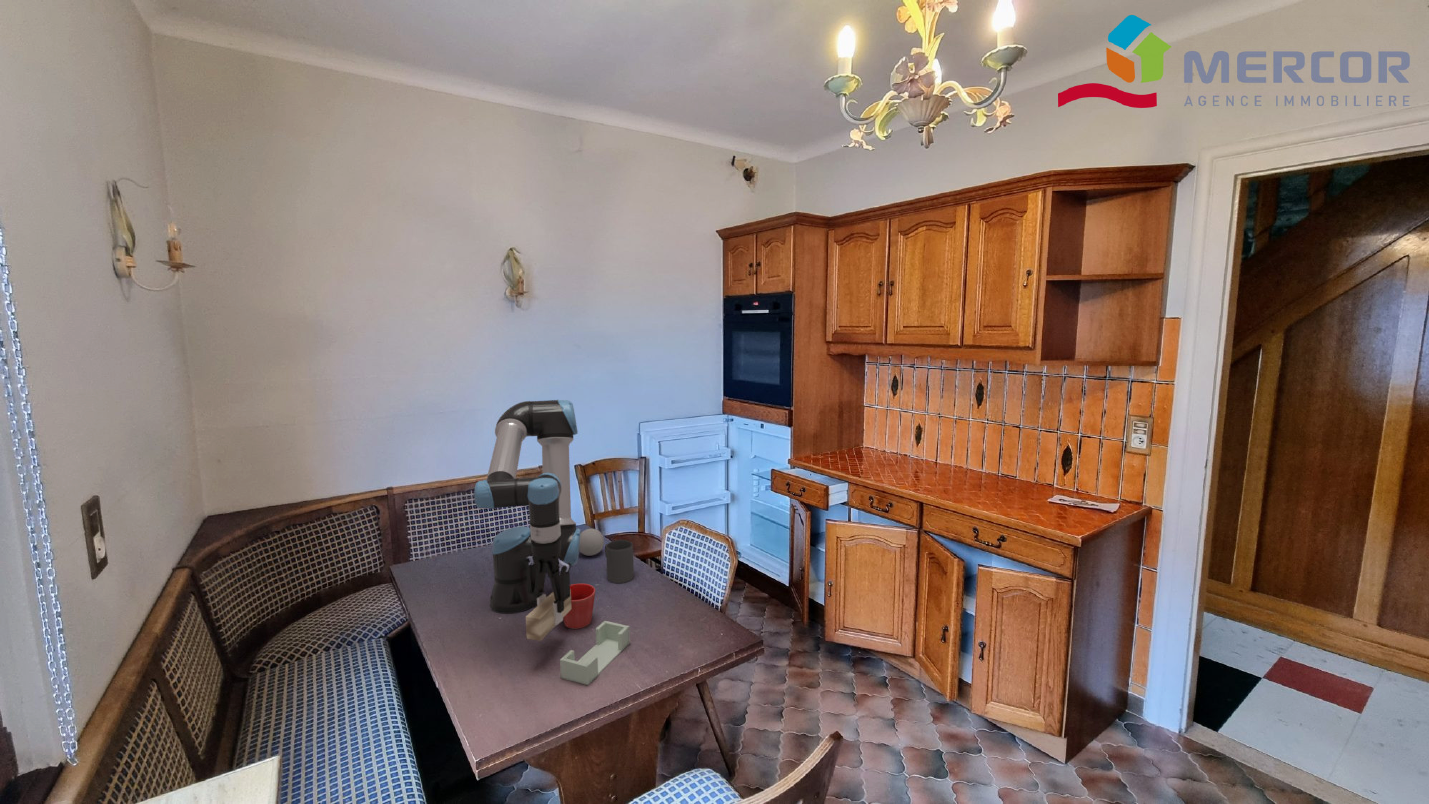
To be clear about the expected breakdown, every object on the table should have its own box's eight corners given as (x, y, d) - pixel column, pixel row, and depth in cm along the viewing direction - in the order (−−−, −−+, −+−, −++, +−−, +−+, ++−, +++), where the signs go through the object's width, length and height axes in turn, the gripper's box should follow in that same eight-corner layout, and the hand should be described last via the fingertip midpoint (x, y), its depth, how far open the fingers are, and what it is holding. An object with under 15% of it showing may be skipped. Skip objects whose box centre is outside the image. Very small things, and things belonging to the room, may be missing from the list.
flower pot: (603, 616, 173) (602, 585, 172) (583, 634, 163) (582, 602, 162) (573, 610, 177) (571, 580, 176) (552, 628, 167) (550, 597, 165)
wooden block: (526, 638, 146) (525, 616, 145) (558, 607, 162) (557, 587, 161) (540, 640, 145) (539, 619, 144) (571, 609, 161) (570, 589, 160)
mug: (639, 577, 199) (638, 544, 197) (616, 586, 193) (615, 552, 191) (617, 565, 209) (616, 534, 207) (595, 573, 203) (593, 541, 201)
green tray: (560, 678, 144) (560, 659, 143) (605, 637, 162) (604, 620, 161) (587, 685, 141) (587, 666, 140) (629, 643, 159) (629, 626, 158)
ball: (609, 551, 221) (608, 527, 220) (594, 561, 212) (592, 536, 211) (588, 547, 225) (587, 523, 224) (572, 557, 216) (570, 532, 215)
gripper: (509, 538, 149) (514, 620, 153) (564, 549, 143) (569, 635, 147) (528, 528, 156) (533, 607, 160) (582, 537, 150) (586, 620, 154)
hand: (550, 620), depth 154 cm, fingers closed on wooden block, 4 cm apart
